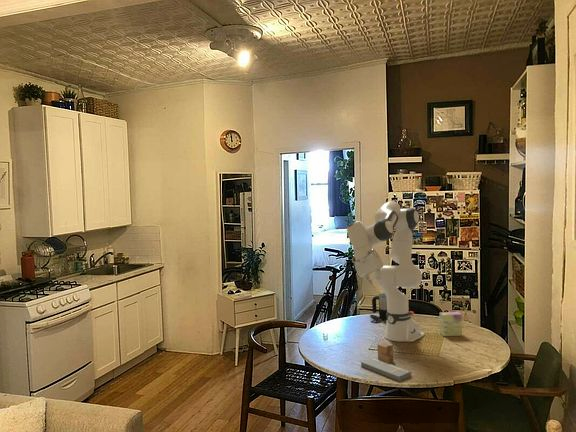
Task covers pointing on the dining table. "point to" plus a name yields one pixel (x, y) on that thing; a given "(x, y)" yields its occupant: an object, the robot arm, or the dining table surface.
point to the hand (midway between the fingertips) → (374, 281)
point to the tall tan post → (385, 352)
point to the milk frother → (380, 307)
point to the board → (386, 369)
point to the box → (450, 323)
